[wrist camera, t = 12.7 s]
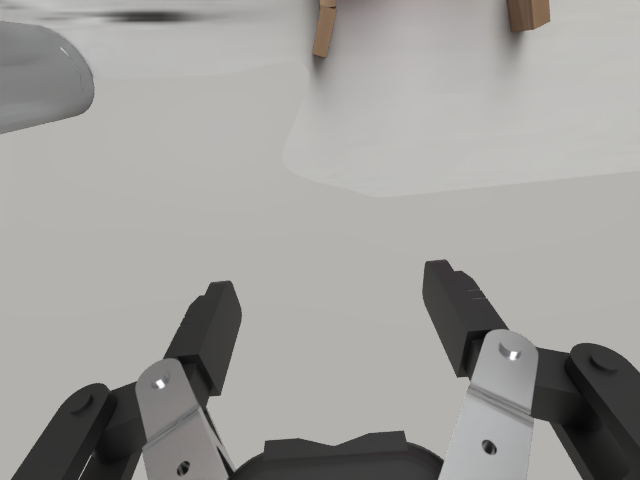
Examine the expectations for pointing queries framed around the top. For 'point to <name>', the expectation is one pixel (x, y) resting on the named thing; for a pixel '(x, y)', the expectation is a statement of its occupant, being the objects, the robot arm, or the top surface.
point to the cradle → (523, 5)
